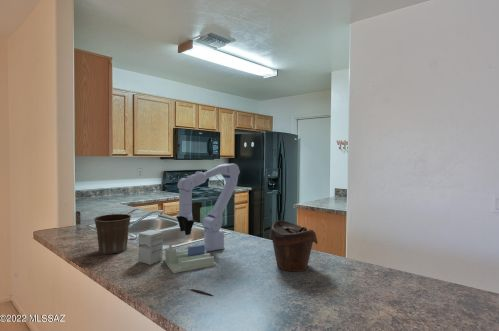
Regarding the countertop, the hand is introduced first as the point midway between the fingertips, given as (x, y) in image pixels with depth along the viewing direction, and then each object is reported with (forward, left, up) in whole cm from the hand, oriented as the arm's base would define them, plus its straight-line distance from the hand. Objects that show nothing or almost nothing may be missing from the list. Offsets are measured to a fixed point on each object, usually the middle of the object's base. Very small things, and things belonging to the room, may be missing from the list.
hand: (185, 232), depth 135 cm
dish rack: (+2, +12, -10) cm, 16 cm away
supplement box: (+16, +2, -10) cm, 19 cm away
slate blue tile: (-1, +12, -9) cm, 15 cm away
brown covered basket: (-35, +36, -10) cm, 51 cm away
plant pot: (+29, -21, -10) cm, 37 cm away
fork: (+9, +38, -10) cm, 40 cm away
